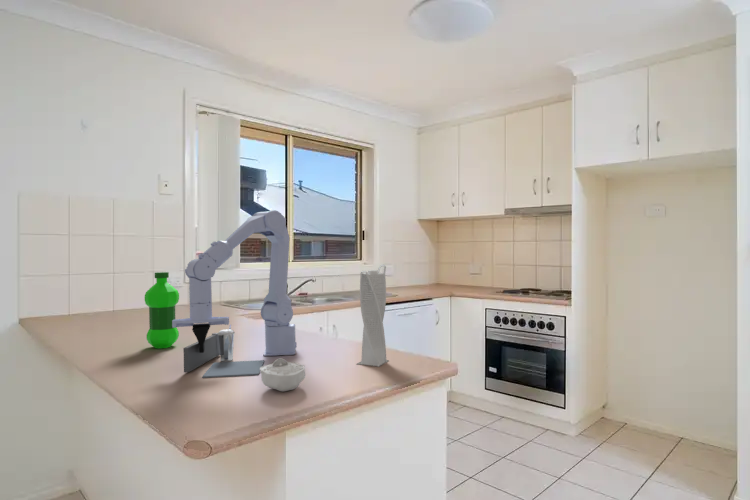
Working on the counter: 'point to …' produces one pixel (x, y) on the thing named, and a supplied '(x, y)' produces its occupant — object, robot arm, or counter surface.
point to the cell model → (282, 375)
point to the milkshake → (226, 344)
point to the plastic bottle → (162, 312)
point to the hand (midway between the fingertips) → (201, 352)
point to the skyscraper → (373, 317)
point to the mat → (234, 369)
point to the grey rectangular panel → (196, 358)
